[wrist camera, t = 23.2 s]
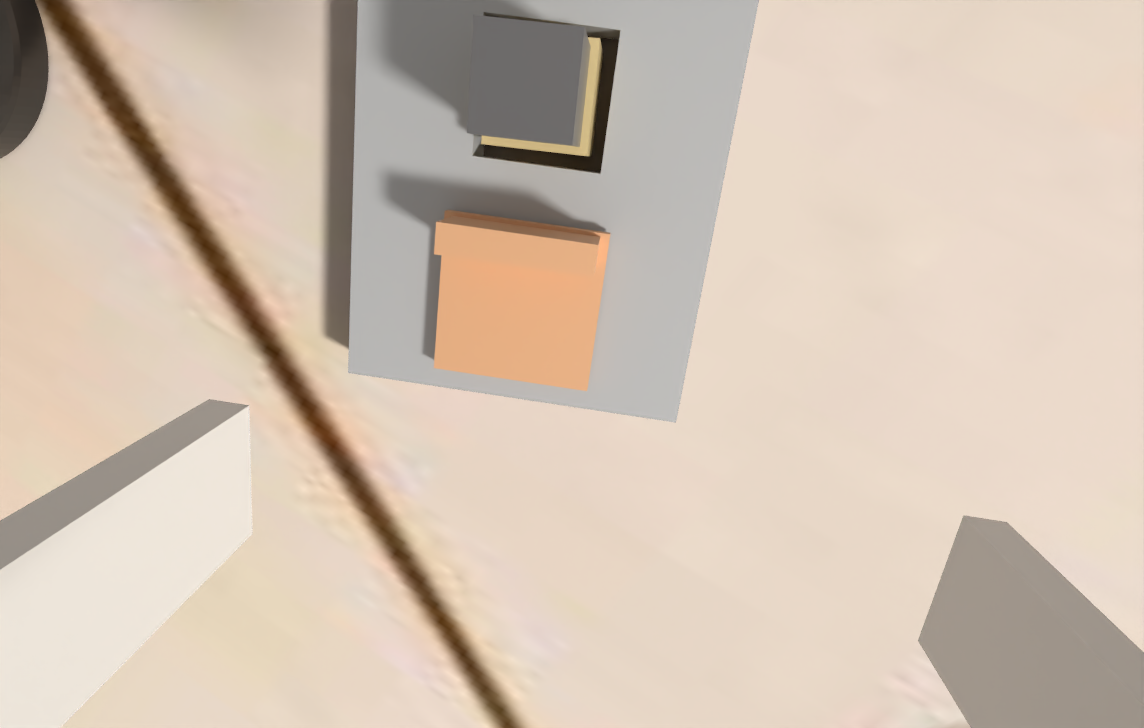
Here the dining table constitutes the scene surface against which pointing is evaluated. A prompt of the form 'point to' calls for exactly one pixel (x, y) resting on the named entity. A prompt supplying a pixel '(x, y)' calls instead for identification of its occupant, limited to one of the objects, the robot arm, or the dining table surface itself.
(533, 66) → the plug
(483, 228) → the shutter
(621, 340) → the socket
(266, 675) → the dining table surface
